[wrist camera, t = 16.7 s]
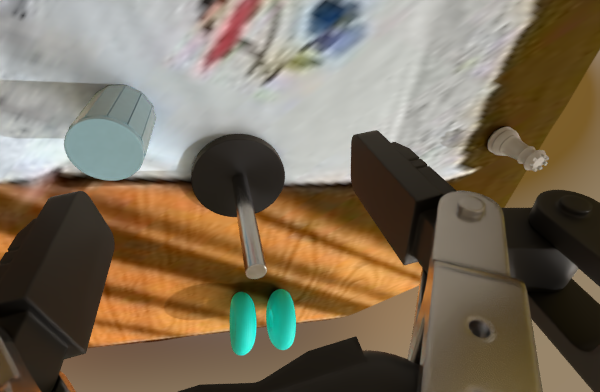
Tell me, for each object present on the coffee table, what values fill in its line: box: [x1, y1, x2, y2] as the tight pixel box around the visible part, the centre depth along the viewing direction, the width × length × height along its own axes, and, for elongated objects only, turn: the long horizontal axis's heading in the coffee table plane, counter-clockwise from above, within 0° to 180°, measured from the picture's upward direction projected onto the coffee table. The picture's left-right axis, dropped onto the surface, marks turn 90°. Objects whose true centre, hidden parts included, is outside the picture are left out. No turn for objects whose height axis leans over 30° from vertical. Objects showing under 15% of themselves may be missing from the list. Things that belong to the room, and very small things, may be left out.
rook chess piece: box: [487, 127, 549, 171], centre depth 47 cm, size 4×4×8 cm
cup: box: [64, 85, 156, 181], centre depth 31 cm, size 6×6×9 cm
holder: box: [191, 134, 285, 279], centre depth 36 cm, size 12×12×17 cm
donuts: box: [230, 289, 296, 355], centre depth 54 cm, size 10×10×10 cm
